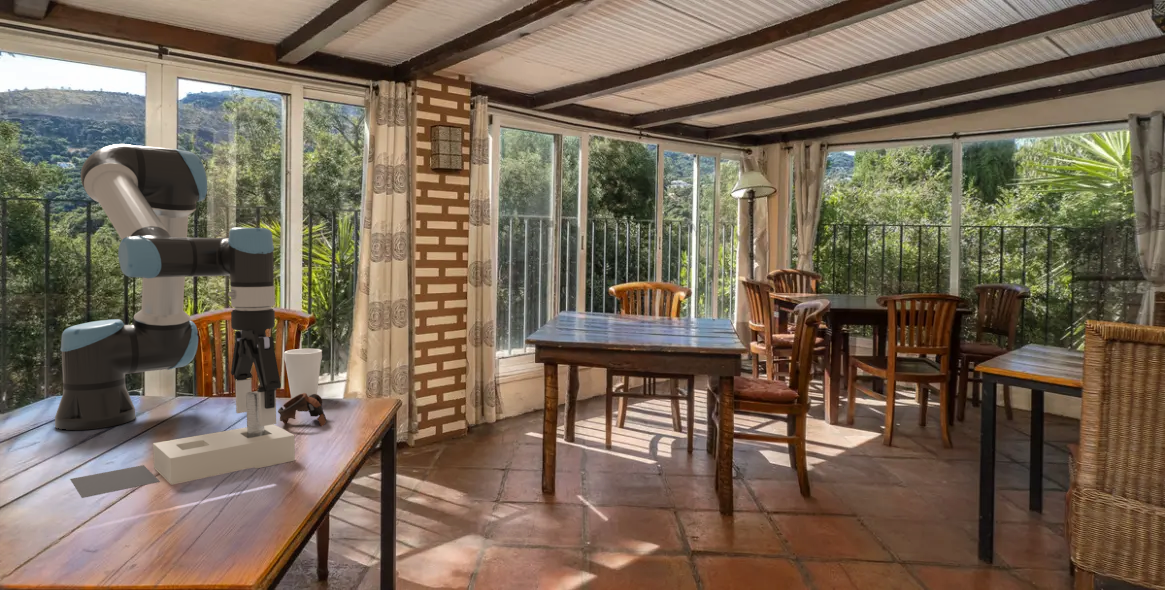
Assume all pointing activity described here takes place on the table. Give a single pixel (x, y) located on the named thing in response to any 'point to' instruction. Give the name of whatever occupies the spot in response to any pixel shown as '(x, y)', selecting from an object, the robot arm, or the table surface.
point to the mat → (113, 481)
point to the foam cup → (303, 370)
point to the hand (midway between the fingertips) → (255, 418)
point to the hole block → (221, 453)
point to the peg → (253, 415)
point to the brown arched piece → (303, 408)
